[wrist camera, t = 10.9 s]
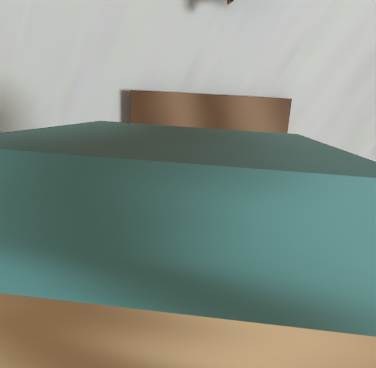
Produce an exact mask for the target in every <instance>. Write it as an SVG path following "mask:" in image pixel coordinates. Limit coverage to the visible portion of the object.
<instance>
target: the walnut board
mask: <svg viewBox="0 0 376 368" xmlns="http://www.w3.org/2000/svg"><path fill="white" fill-rule="evenodd" d="M291 101H292V99H284V98H265V97H247V96H228V95H210V94H191V93H173V92H154V91H136V90H131V123H137V124H152V125H167V126H182V127H196V128H211V129H226V130H241V131H256V132H271V133H286V134H287V131H288V123H289V116H290V108H291Z"/></svg>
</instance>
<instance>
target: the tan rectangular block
mask: <svg viewBox="0 0 376 368" xmlns="http://www.w3.org/2000/svg"><path fill="white" fill-rule="evenodd" d="M0 368H376V162H375V161H372V160H369V159H366V158H363V157H361V156H358V155H355V154H352V153H349V152H346V151H344V150H341V149H338V148H335V147H332V146H329V145H327V144H324V143H321V142H318V141H315V140H313V139H310V138H307V137H304V136H301V135H298V134H286V133H271V132H256V131H241V130H226V129H211V128H196V127H182V126H167V125H152V124H137V123H122V122H107V121H96V122H88V123H80V124H72V125H63V126H55V127H47V128H39V129H31V130H22V131H14V132H6V133H0Z"/></svg>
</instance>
